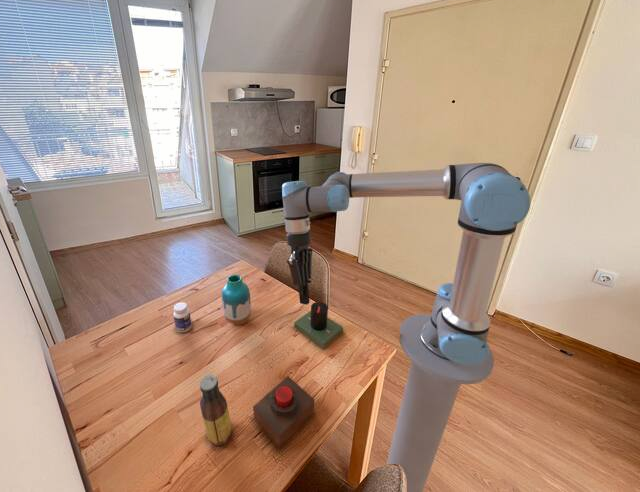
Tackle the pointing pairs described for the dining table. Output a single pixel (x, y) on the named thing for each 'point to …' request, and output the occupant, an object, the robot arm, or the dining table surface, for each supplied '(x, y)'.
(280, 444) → the switch box
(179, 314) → the pill bottle
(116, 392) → the dining table surface
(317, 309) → the dimmer knob
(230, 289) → the vase
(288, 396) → the light button
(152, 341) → the dining table surface
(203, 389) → the sauce bottle
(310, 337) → the panel
